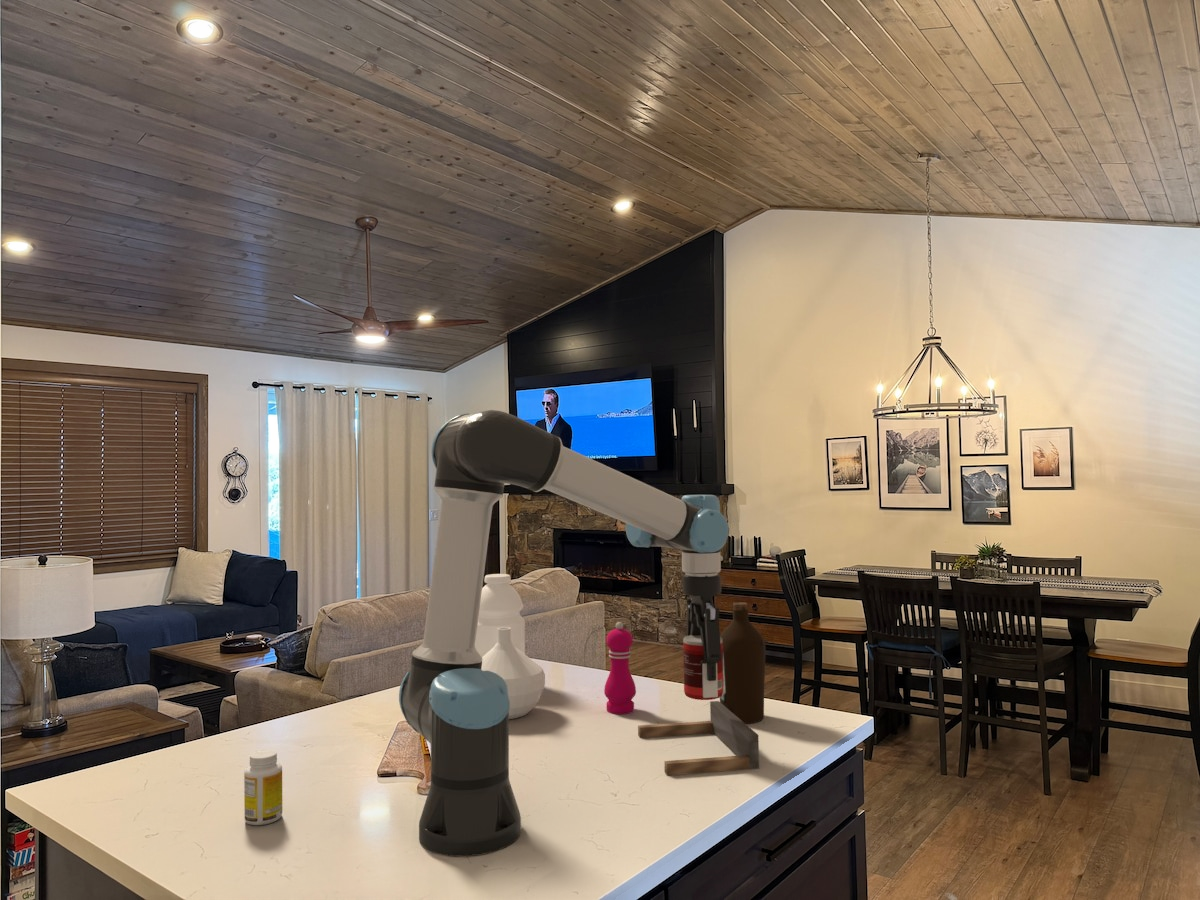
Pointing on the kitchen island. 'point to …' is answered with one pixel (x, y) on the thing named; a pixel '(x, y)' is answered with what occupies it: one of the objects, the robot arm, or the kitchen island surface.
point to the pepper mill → (619, 672)
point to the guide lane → (724, 728)
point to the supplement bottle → (263, 788)
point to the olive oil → (743, 667)
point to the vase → (515, 674)
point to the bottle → (499, 614)
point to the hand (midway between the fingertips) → (703, 690)
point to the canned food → (698, 668)
